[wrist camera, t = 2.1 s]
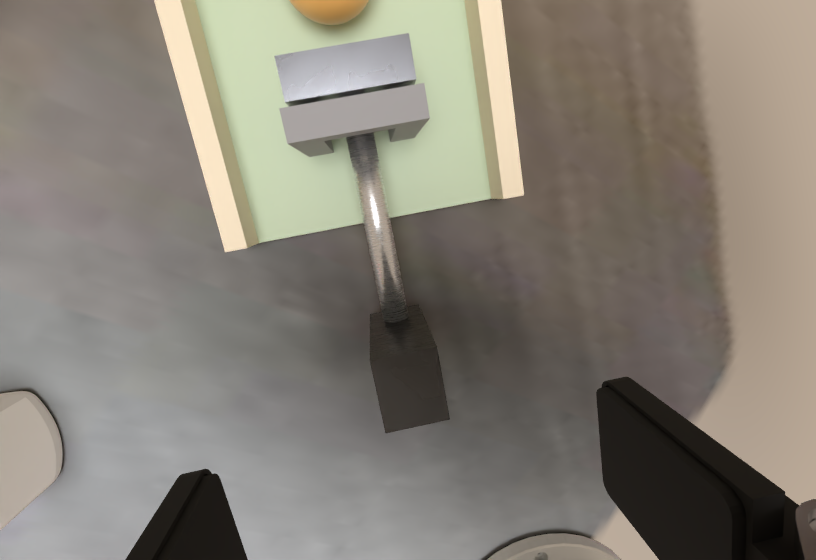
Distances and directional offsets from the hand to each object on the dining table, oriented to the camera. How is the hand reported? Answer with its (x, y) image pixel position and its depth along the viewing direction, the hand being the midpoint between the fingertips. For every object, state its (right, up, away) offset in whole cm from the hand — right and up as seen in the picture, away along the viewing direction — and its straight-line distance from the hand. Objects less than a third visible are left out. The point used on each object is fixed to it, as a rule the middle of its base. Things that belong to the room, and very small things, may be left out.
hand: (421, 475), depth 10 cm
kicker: (-2, +7, +11) cm, 13 cm away
